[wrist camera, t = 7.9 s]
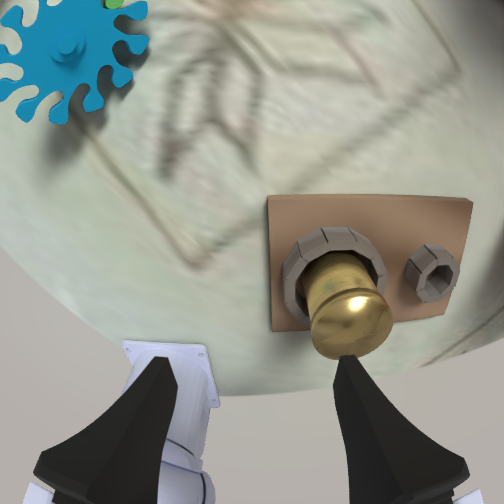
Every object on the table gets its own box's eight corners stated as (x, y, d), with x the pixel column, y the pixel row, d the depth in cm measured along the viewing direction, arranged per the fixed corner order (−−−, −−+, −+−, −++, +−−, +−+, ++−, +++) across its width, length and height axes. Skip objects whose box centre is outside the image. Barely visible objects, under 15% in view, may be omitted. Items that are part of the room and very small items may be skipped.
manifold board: (439, 308, 21) (453, 329, 18) (271, 323, 22) (272, 351, 19) (465, 198, 16) (489, 211, 14) (267, 195, 17) (268, 210, 15)
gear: (85, 151, 15) (-44, 98, 6) (76, 122, 17) (-21, 78, 9) (199, 11, 12) (85, -75, 4) (165, 12, 15) (76, -51, 6)
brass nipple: (359, 291, 19) (386, 352, 14) (300, 299, 19) (312, 365, 14) (362, 237, 17) (399, 291, 12) (297, 244, 18) (311, 304, 12)
